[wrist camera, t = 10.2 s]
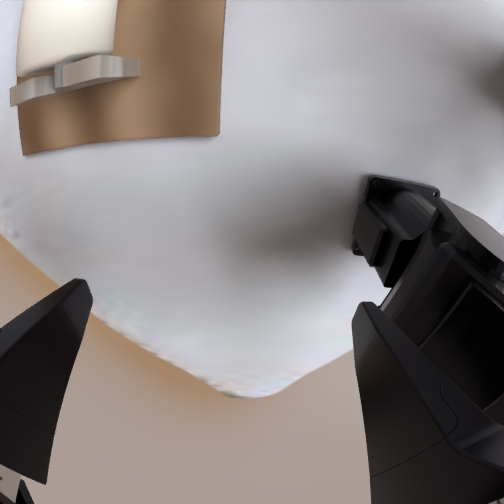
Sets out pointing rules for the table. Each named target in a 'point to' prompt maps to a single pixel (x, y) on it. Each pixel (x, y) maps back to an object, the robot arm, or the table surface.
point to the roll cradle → (133, 81)
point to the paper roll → (63, 34)
